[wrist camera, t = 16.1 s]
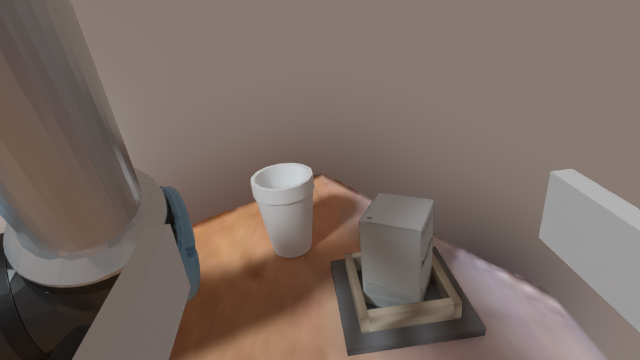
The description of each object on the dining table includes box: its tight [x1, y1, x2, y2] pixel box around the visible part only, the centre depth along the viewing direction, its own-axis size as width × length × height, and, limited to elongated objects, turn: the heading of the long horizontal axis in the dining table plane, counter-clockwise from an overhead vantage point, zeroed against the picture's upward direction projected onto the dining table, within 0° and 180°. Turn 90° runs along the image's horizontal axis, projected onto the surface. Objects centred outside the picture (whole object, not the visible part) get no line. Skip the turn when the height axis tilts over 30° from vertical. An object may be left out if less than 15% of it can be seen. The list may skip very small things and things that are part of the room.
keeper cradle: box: [331, 247, 485, 356], centre depth 51 cm, size 16×16×4 cm
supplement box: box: [359, 193, 434, 308], centre depth 48 cm, size 7×7×13 cm
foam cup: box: [251, 163, 314, 258], centre depth 61 cm, size 10×9×13 cm
